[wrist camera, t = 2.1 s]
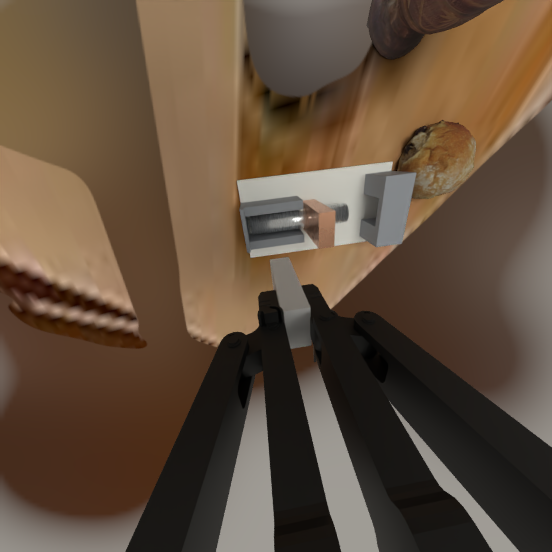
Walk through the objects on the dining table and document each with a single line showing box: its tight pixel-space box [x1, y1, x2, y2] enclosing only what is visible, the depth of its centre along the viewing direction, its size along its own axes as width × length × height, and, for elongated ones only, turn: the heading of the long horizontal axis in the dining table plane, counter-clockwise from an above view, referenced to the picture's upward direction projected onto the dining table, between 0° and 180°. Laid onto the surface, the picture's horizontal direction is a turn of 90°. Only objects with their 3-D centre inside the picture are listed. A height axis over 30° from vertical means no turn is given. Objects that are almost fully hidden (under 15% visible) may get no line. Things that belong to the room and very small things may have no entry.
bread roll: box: [397, 120, 476, 199], centre depth 30 cm, size 10×10×8 cm
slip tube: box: [249, 199, 349, 249], centre depth 29 cm, size 4×14×9 cm, turn 96°
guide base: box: [237, 162, 416, 258], centre depth 31 cm, size 12×23×6 cm, turn 96°
